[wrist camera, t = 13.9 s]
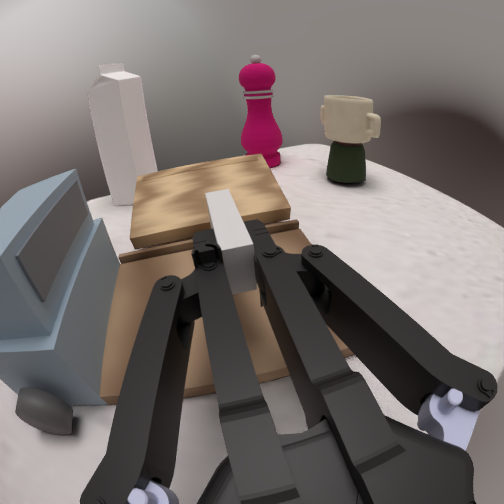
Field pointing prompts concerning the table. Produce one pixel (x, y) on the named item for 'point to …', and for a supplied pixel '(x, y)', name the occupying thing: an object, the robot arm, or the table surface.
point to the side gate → (202, 198)
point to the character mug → (348, 135)
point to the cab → (54, 301)
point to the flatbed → (199, 369)
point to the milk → (121, 130)
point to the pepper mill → (260, 112)
